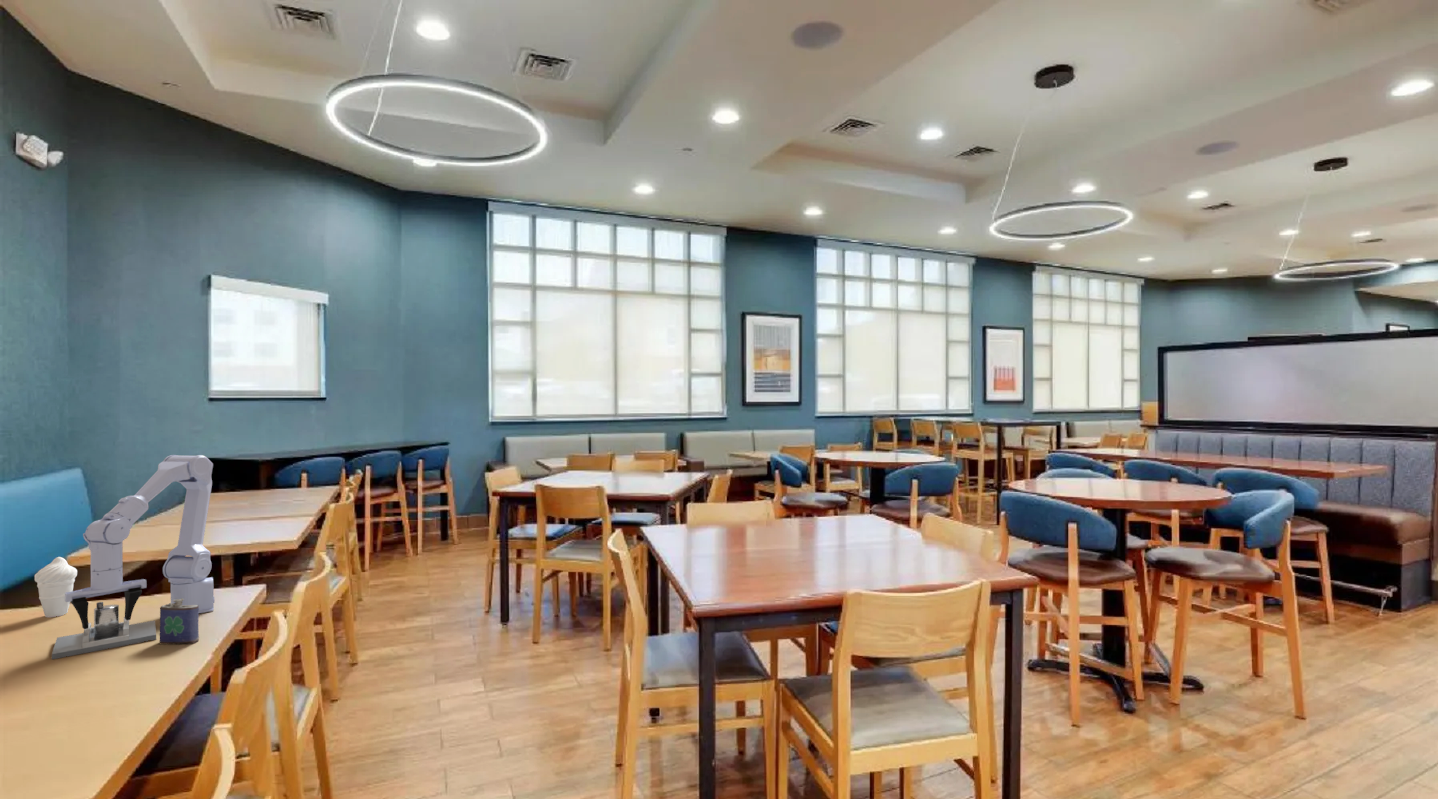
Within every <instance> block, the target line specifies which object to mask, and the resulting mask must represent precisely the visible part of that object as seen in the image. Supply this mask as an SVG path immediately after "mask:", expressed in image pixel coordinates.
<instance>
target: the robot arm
mask: <svg viewBox="0 0 1438 799" xmlns="http://www.w3.org/2000/svg"><path fill="white" fill-rule="evenodd" d="M213 468H214V463H213V462H212V461H211V460H210V459H209V458H208V456H205V455H203V454H198V455H183V454H182V455H177V454H171V455H168V456H166V457H165V458H164V459H163V461H161V462H159V463H158V465H157V470H156V472H154V473H153V475H152V476H151V477H150V478H148V480H147V481H146V482H145V483H144V484H143V486H142V487H141V488H139V490H138V491H137V492H136V493H135V494H134V495H127V496H125V497H121V498H120V499H119V500H118V503H117V504H116V505H114V507H113V508H112V509H111V510H110V511H108V512H107V513H105V514H104V515H103V517H102V518H101V519H97V520H94V521H93V522H91V523H90V524H89V525H88V526H87V527H86V528H85V532H84V533H82V537H83V539H84V540H85V542H86V543H87V544H88V549H89V550H90V587H85V588H81V589H77V590H73V591H72V592H66V593H65V602H70V604H72V606H73V607H74V609H75V610H76V612H77V614H78V616H79V618H80V622H81V626H82V629H83V630H84V629H88V623H89V617H88V613H89V601H88V598H94V597H99V596H104V595H110V594H115V593H121V592H123V593H124V604H125V607H124V617H125V619H126V620H129V621H130V620H131V618H132V614H133V611H134V608H135V606H136V604H137V601H138V600H139V598H140V597H141V595H142V594H143V590H142V589H147V579H146V578H145V579H144V578H141V579H135V580H128V581H124V579H123V577H124V576H123V575H124V573H123V572H124V570H123V568H124V566H123V563H124V562H123V561H124V560H123V559H124V558H123V556H124V555H123V552H124V551H123V547H124V546H123V544H124V543H123V542H124V541H125V540H127V539H128V538H129V536H130V532H131V529H132V527H133V525H134V524H135V523H136V522H137V521H138V520H139V519H141V517H142V516H143V515H144V514H145V513H146V512H147V511H148V510H149V508H150V507H149V502H151V501H152V500H153V499H154V498H156V496H158V495H159V494H160V493H161V492H163V491H164V490H165V489H166V488H167V487H168V486H170V485H171V483H175V482H177V483H178V484H181V485H182V486H183V487H184V488H185V489H186V490H185V491H186V493H185V497H184V498H185V499H184V504H183V508H182V509H183V511H182V515H181V523H180V528H179V529H180V530H179V535H178V541H177V545H176V546H175V547H174V548H172V550H170V551H169V552H168V555H167V559H166V560H165V562H164V564H163V566H162V574H163V576H164V577H165V578H166V579H167V580H168V583H170V603H176V602H174V601H173V600H176V599H181V598H182V599H184V600H183V601H182V602H183V603H182V605H198V606H199V611H198V614H203V613H208V612H213V611H214V610H215V609H214V604H215V596H214V594H215V593H214V577H213V576H211V577H208V576H209V574H210V572H211V570H212V564H213V563H212V561H211V553H212V552H211V551H210V550H209V549H207V548H206V547H205V546H204V545H203V544H204V538H205V534H206V533H205V532H206V527H207V519H208V512H209V505H210V500H211V494H212V486H213V480H212V474H213Z"/></svg>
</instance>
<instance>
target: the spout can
mask: <svg viewBox="0 0 1438 799" xmlns="http://www.w3.org/2000/svg"><path fill="white" fill-rule="evenodd" d="M119 612H120V607H119V604H108V605H104V602H103V601H99V602H96V606H95V608H94V609H93V627H94V638H95V639H104V638H109V637H113V636H116V635H118V634H119V623H120V621H119V620H120V618H119V617H120V616H119Z"/></svg>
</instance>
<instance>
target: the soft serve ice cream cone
mask: <svg viewBox="0 0 1438 799" xmlns="http://www.w3.org/2000/svg"><path fill="white" fill-rule="evenodd" d="M77 576H78V569H77V568H76V567H74V566H72V565H70V564H68V561H67V560H66V559H65V558H64V557H61V556H58V557H57V556H56V557H55V558H54V559H53V560H52V561H51V562H50V563H49V564H46V565H45V566H44V567H42V568H40V569H39V570H38V571H37V572H36V573H35V574H34V582H35V583H37V585H36V587H37V588H38V589H37V590H38V596H39V597H38V599H39V600H40V603H41V608H42V610H43V614H44V617H45V618H56V616H57V617H60V616H64V614H65V615H67V614H68V611H69V608H70V604H71V602H65V593H66V592H72V591H74V585H75V584H74V583H75V581H76V577H77ZM66 613H67V614H66Z"/></svg>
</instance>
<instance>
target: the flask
mask: <svg viewBox="0 0 1438 799" xmlns="http://www.w3.org/2000/svg"><path fill="white" fill-rule="evenodd" d="M183 600H184V599H182V598H181V599H176V600H173V601H174V602H176V603H171V602H170V603H167V604H164V605H161V606H160V607H159V613H160V614H159V644H160V643H161V644H160V645H188V644H189V645H191V644H197V642H199V641H200V639H199V638H200V634H199V613H198V611H199V606H198V605H182V603H183V602H182V601H183Z"/></svg>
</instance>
